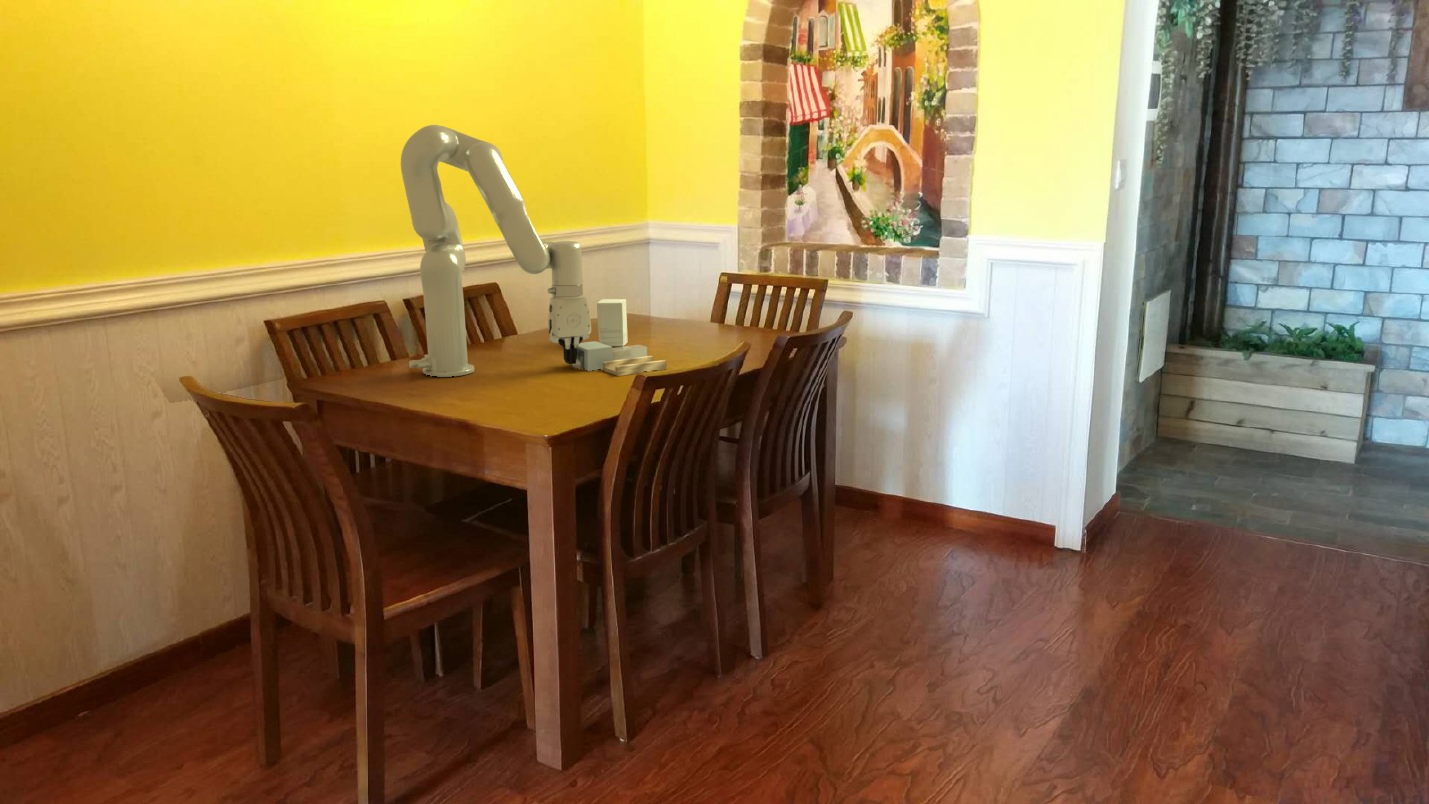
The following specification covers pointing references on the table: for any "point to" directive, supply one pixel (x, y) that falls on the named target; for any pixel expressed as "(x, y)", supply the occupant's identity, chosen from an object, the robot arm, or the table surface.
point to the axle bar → (617, 354)
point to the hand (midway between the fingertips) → (570, 363)
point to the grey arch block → (595, 354)
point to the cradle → (633, 365)
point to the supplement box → (612, 322)
